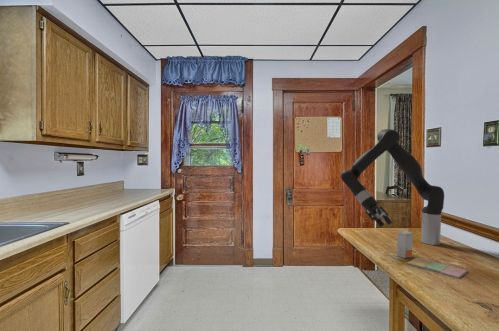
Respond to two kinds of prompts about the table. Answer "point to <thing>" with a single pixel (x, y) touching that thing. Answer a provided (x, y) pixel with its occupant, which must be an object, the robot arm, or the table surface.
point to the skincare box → (404, 244)
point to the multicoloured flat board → (438, 267)
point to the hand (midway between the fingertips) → (386, 224)
